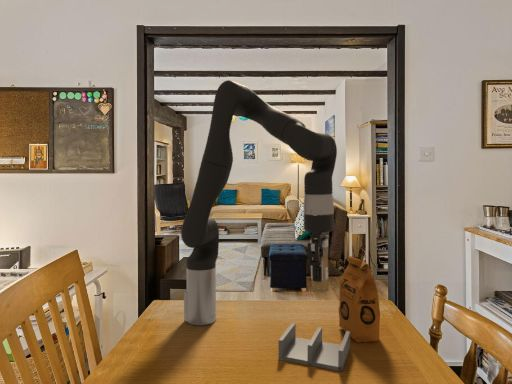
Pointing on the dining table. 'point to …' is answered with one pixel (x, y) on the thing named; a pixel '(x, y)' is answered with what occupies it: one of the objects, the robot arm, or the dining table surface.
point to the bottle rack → (313, 350)
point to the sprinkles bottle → (323, 285)
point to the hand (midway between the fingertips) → (319, 278)
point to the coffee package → (359, 302)
